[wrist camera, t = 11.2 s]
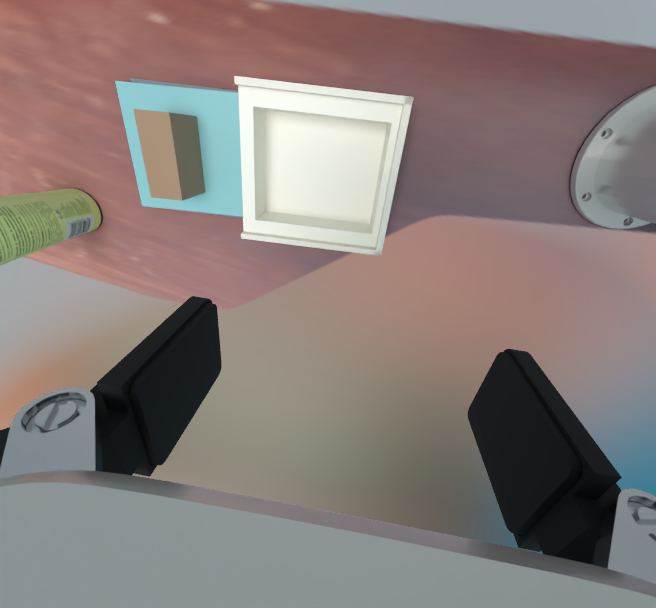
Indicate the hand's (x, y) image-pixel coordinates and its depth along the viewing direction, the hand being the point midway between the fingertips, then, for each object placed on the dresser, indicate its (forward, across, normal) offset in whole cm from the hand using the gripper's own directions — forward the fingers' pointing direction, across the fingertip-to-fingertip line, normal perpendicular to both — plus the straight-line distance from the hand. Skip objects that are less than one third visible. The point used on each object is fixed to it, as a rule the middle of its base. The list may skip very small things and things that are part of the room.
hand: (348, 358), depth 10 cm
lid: (+25, +19, -3) cm, 31 cm away
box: (+26, +5, -3) cm, 27 cm away
